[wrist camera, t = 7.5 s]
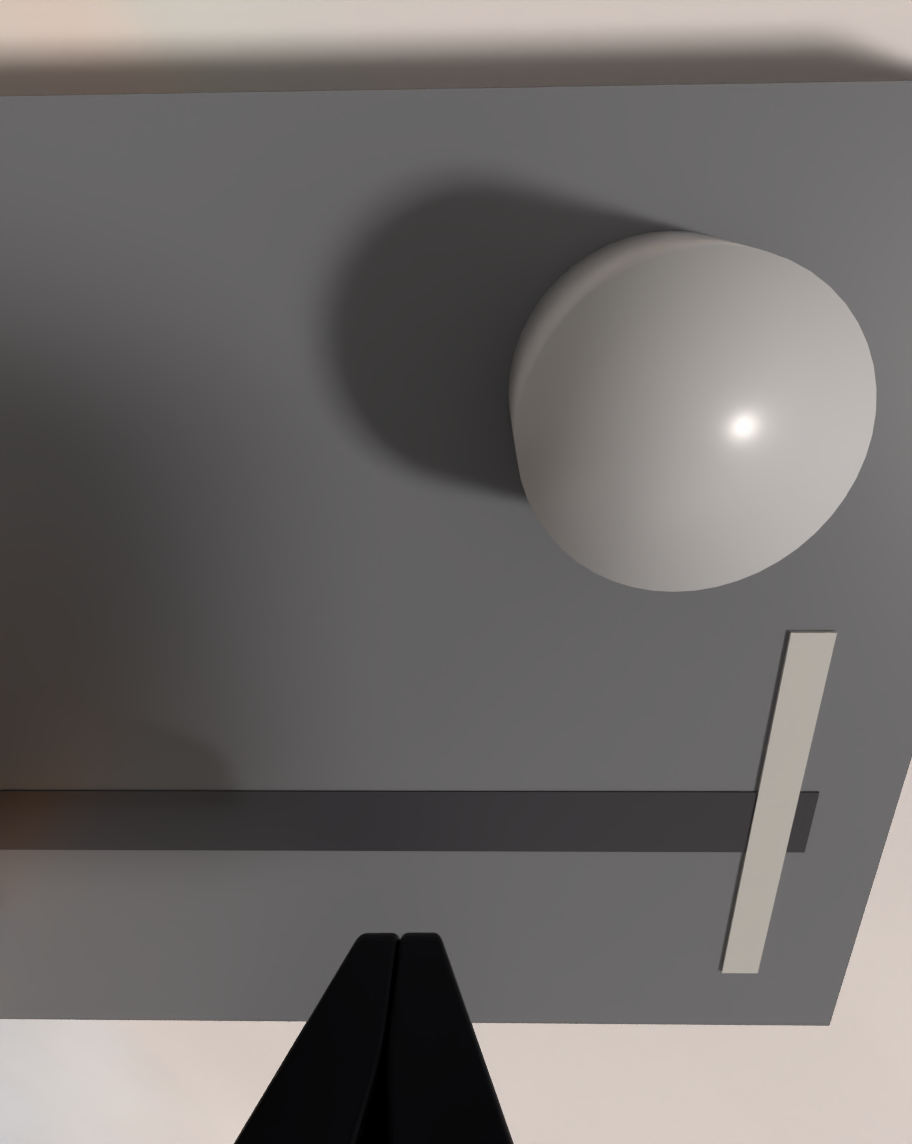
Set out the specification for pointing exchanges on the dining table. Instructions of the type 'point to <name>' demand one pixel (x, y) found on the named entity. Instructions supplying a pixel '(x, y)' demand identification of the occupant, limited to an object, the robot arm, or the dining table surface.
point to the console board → (452, 544)
